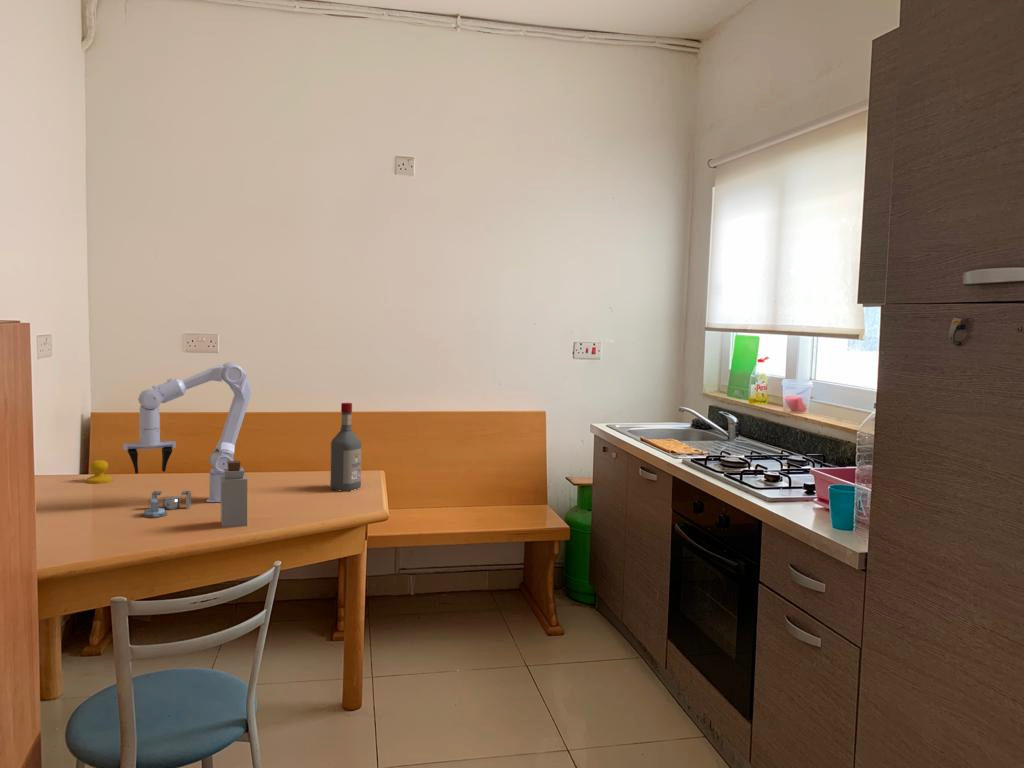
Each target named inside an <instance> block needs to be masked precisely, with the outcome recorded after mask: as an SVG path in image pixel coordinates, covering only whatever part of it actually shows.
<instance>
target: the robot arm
mask: <svg viewBox="0 0 1024 768" xmlns="http://www.w3.org/2000/svg"><path fill="white" fill-rule="evenodd" d="M210 381H214V382H223V381H224V382H225V383H226V384H227V385H228V386H229V388H230V390H232V393H233V397H232V401H231V404H230V407H229V411H228V414H227V416H226V420H225V423H224V426H223V429H222V431H221V435H220V439H219V441H218V443H217V444H216V447H215V449H214V450H213V451H212V453H210V455H209V459H208V461H209V464H210V465H211V466H212V467H211V469H210V470H209V497H208V498H207V500H206V501H205V502H206V503H221V476H225V474H224V469H223V468H228V461H235V460H234V455H235V450H236V449H235V446H236V443H237V441H238V437H239V433H240V430H241V428H242V424H243V421H244V418H245V414H246V411H247V409H248V405H249V402H250V399H251V396H252V390H251V386H250V383H249V380H248V375H247V372H246V371H245V370H244V368H242V367H241V365H238V364H235V363H233V362H225V363H224V364H219V365H215V366H212V367H209V368H207V369H205V370H203V371H201V372H198V373H195V374H193V375H192V376H189V377H187V378H184V379H183V380H182V379H179V378H174V379H173V378H172V377H171V378H168V379H167V381H166V382H163V383H161V384H158V385H155V384H154V385H152V386H151V388H147V389H144V390H142V391H141V392H140V394H139V395H138V398H137V400H138V403H139V404H140V406H139V414H138V415H139V417H138V419H139V423H138V424H139V425H138V426H139V441H136V442H127V443H125V442H124V443H123V451H126V452H127V453H128V455H129V457H130V460H131V461H132V465H133V469H134V474H135V475H137V474H139V465H138V461H139V459H138V458H139V457H138V455H139V454H138V450H153V449H155V450H156V449H161V457H162V460H161V461H162V462H161V471H162V472H163V473H164V472H165V473H166V469H167V465H168V461H169V459H170V456H171V455H172V453H173V449H176V448H177V441H175V440H161V414H160V405H161V404H165V403H168V402H170V401H173V400H175V399H178V398H181V397H183V396H184V395H185V393H186V391H187V390H189V389H192V388H195V387H197V386H200V385H203V384H205V383H208V382H210Z"/></svg>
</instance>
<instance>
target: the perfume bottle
mask: <svg viewBox="0 0 1024 768" xmlns="http://www.w3.org/2000/svg"><path fill="white" fill-rule="evenodd" d="M223 469H224V474H225V476H221V502H220V524H221V528H222V529H223V528H235V527H247V526H248V478H247V475H246V474H245V469H244V467H242V466H241V461H240V460H234V461H228V468H223Z"/></svg>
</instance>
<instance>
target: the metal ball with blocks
mask: <svg viewBox="0 0 1024 768" xmlns="http://www.w3.org/2000/svg"><path fill="white" fill-rule="evenodd" d="M180 494H181V496H183V495H184V496H185V509H191V507H192V491H191V490H183V491H181V493H180ZM160 495H162V491H161V490H159V491H158V490H155V491H153V492H151V499H155V498H156V499H157V500H158V496H160ZM181 496H176V495H175V496H165V497H162V508H163V509H165V511H166V510H167V511H174V510H179V509H181Z"/></svg>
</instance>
